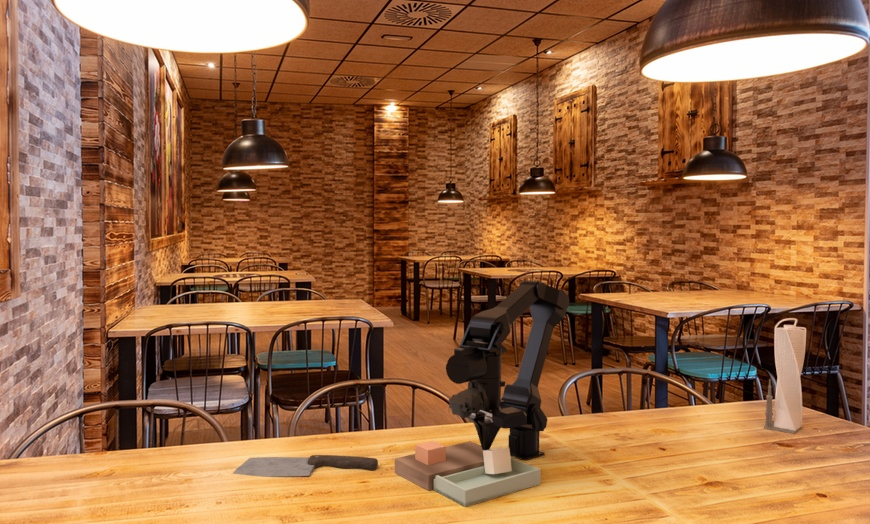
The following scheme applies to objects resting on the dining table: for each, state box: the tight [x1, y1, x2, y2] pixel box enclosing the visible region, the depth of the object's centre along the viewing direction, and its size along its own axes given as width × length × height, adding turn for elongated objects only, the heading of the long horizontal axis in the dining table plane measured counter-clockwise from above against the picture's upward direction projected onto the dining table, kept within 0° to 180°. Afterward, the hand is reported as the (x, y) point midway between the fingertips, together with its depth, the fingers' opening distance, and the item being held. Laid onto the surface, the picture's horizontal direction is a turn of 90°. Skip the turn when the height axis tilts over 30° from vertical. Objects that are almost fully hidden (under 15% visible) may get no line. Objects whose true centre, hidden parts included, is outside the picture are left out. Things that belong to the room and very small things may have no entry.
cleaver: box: [232, 454, 379, 478], centre depth 140 cm, size 29×10×2 cm, turn 88°
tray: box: [433, 456, 542, 508], centre depth 130 cm, size 19×10×3 cm, turn 126°
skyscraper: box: [763, 317, 807, 434], centre depth 170 cm, size 8×8×28 cm
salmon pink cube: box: [414, 440, 447, 465], centre depth 137 cm, size 4×4×3 cm
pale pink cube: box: [483, 447, 512, 474], centre depth 135 cm, size 4×4×3 cm
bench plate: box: [394, 441, 484, 492], centre depth 139 cm, size 20×12×3 cm, turn 126°
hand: (485, 450), depth 139 cm, fingers closed
